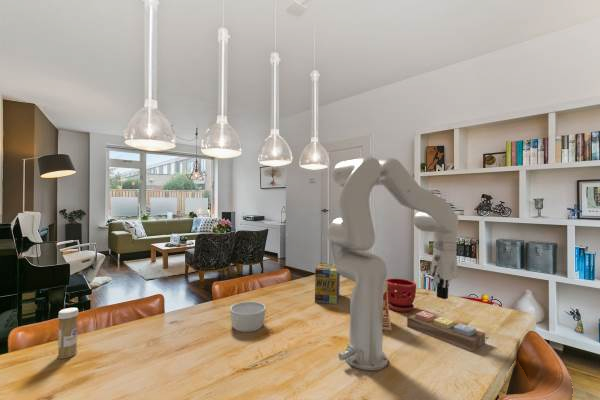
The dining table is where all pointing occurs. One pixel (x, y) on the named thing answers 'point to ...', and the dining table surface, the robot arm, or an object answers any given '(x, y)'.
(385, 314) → the milk carton
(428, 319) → the three-pip tile
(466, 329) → the tile
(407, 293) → the plant pot
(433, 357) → the dining table surface
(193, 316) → the dining table surface
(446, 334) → the wooden tile rack
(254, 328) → the ramekin
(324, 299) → the protein box
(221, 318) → the dining table surface
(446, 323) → the tile
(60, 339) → the sprinkles bottle
